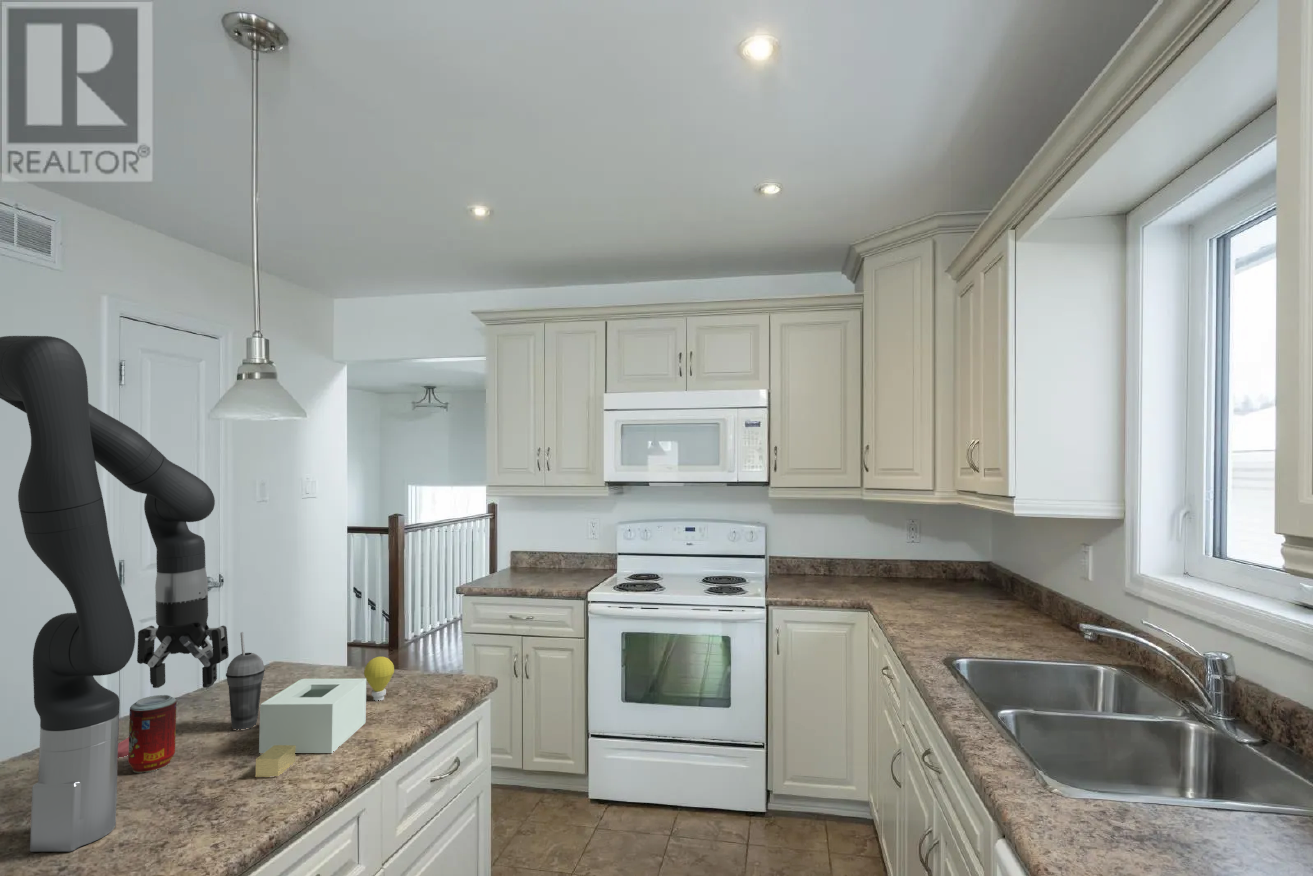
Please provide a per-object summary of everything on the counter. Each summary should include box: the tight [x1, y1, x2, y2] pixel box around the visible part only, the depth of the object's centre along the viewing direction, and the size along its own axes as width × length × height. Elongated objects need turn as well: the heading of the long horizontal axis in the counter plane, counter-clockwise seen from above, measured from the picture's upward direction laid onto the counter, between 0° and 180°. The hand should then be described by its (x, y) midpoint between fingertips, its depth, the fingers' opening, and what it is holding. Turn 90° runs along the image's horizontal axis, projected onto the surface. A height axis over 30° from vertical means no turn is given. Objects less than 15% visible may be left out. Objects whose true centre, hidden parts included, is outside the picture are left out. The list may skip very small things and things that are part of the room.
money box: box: [258, 677, 367, 754], centre depth 141 cm, size 16×14×10 cm
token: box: [255, 745, 296, 777], centre depth 126 cm, size 6×4×4 cm, turn 1°
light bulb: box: [363, 656, 395, 702], centre depth 164 cm, size 7×7×10 cm
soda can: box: [127, 694, 178, 774], centre depth 127 cm, size 7×7×12 cm
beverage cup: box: [225, 631, 266, 730], centre depth 147 cm, size 7×7×20 cm
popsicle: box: [118, 736, 129, 759], centre depth 138 cm, size 5×2×15 cm
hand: (184, 686), depth 120 cm, fingers open, 8 cm apart
